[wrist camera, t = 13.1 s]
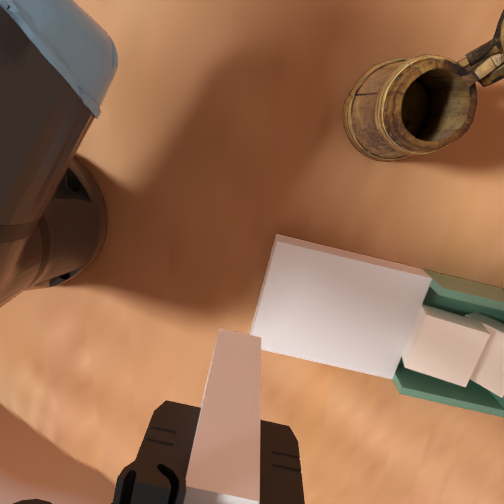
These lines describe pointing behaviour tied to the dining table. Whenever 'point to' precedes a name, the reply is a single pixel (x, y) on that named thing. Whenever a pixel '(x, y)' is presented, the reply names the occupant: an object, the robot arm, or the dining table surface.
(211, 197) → the dining table surface
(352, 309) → the board
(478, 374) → the tile
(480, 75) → the wooden mug
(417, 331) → the tile
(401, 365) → the box
